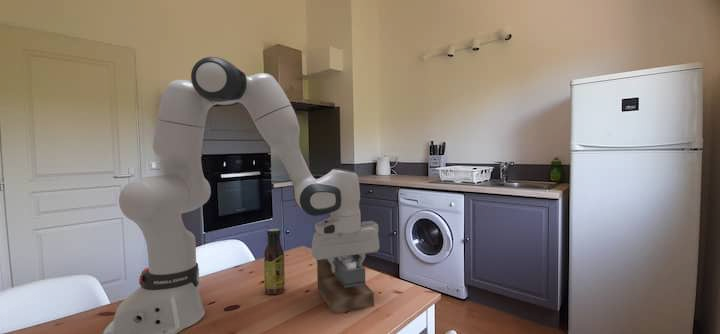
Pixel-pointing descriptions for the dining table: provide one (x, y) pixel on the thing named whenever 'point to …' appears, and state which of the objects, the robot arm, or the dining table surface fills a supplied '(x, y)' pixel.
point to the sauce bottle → (274, 263)
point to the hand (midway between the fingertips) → (347, 270)
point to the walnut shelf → (341, 291)
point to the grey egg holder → (349, 271)
